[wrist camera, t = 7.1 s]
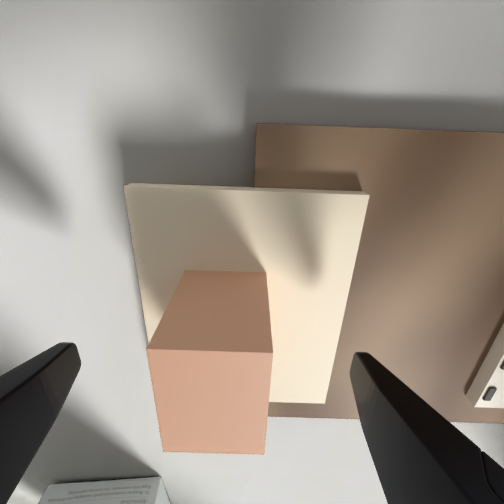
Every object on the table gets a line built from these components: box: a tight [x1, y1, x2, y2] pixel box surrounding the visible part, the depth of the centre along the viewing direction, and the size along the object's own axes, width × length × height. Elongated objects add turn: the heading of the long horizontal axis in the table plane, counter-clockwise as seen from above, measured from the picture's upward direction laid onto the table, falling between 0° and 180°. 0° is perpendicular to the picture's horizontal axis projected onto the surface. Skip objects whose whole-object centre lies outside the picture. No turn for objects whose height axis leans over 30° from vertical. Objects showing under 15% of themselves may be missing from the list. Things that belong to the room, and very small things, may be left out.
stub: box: [123, 183, 370, 455], centre depth 9 cm, size 8×10×4 cm
